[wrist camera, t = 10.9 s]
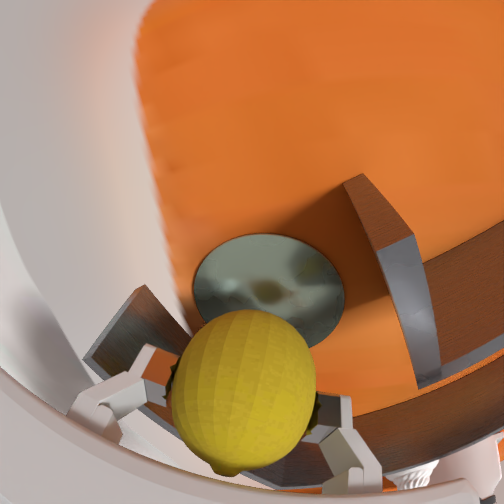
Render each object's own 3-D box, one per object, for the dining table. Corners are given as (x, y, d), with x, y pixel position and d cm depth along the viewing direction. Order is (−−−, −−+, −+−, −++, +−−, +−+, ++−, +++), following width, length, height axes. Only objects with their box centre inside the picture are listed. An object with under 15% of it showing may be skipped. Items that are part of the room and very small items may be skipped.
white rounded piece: (434, 422, 19) (443, 480, 13) (435, 439, 21) (441, 487, 15) (378, 440, 22) (380, 498, 16) (387, 454, 24) (389, 503, 18)
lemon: (227, 359, 16) (188, 484, 9) (189, 283, 13) (109, 426, 6) (322, 351, 14) (318, 494, 7) (305, 264, 12) (297, 450, 5)
